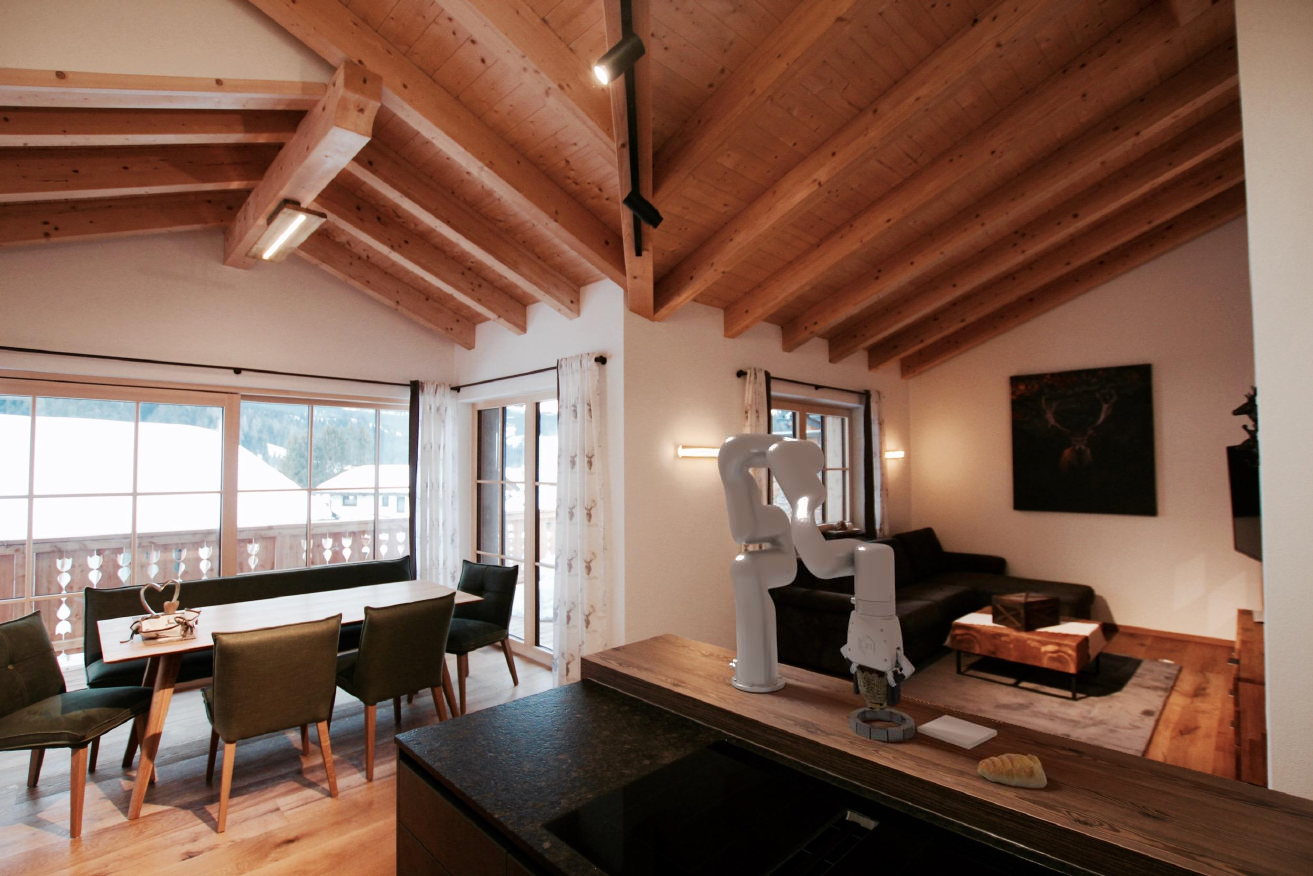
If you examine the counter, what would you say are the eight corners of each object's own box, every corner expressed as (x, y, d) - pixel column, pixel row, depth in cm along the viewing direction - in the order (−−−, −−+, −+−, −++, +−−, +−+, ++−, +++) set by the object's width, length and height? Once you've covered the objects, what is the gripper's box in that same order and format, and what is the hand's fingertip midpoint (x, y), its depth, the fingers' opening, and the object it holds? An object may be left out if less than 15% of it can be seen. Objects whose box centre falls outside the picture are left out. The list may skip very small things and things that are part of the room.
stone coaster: (917, 731, 119) (917, 727, 119) (946, 719, 125) (945, 715, 125) (968, 749, 111) (968, 744, 111) (997, 735, 116) (996, 730, 116)
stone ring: (838, 727, 122) (837, 716, 122) (874, 713, 129) (874, 703, 129) (890, 746, 113) (889, 735, 113) (926, 730, 119) (926, 720, 119)
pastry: (986, 787, 98) (984, 762, 98) (971, 768, 104) (970, 744, 105) (1051, 791, 96) (1049, 765, 96) (1032, 771, 103) (1031, 747, 103)
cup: (891, 702, 125) (890, 661, 125) (901, 717, 118) (900, 674, 118) (853, 700, 126) (852, 660, 126) (861, 715, 118) (860, 673, 119)
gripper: (827, 601, 127) (828, 690, 127) (903, 619, 113) (905, 718, 112) (850, 597, 132) (851, 682, 131) (926, 613, 117) (928, 708, 117)
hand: (876, 698), depth 122 cm, fingers closed on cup, 7 cm apart
